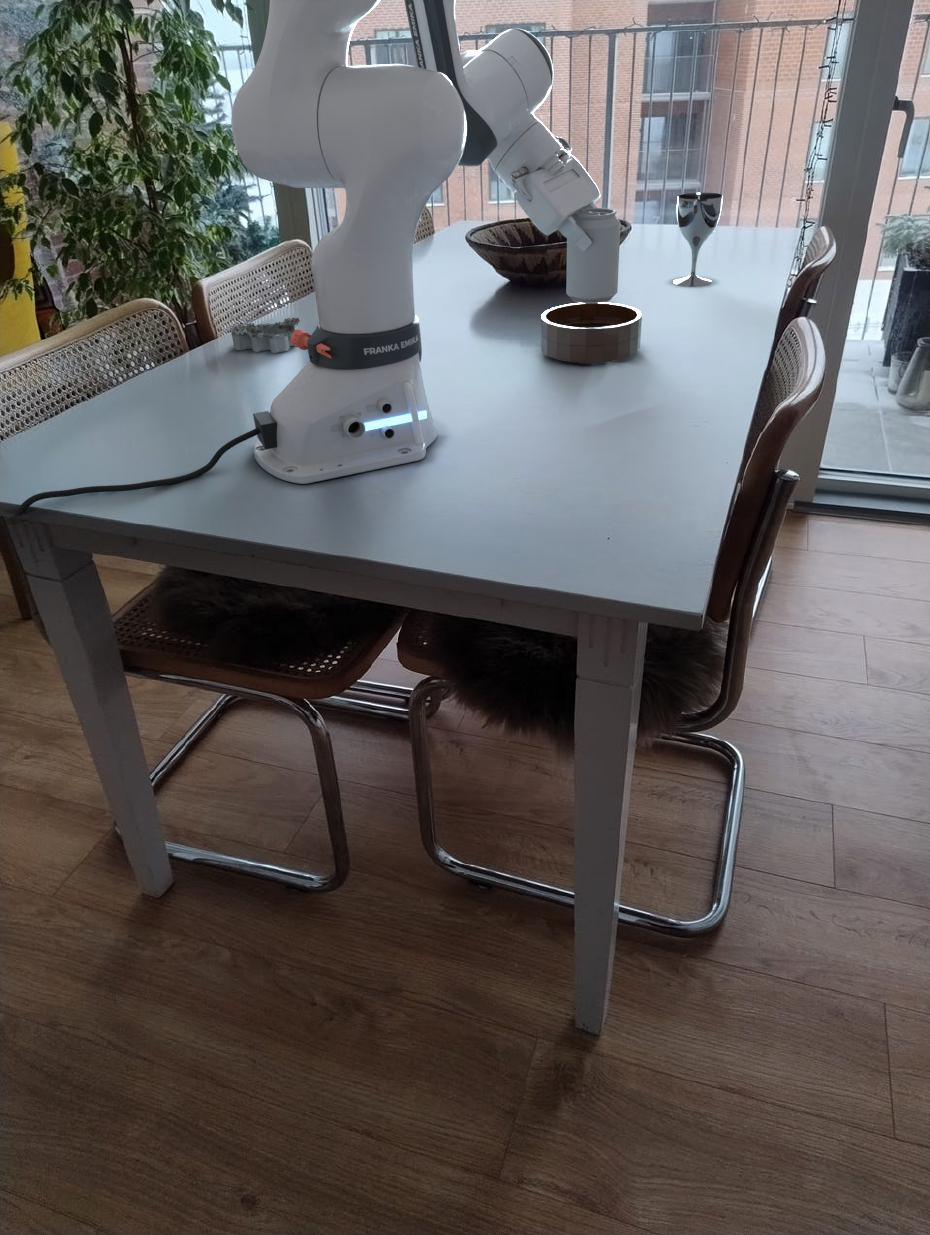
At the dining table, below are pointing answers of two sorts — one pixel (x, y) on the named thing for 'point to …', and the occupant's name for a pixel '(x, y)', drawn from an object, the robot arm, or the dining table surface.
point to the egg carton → (264, 336)
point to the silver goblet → (697, 227)
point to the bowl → (591, 332)
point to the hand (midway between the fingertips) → (597, 240)
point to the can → (594, 257)
